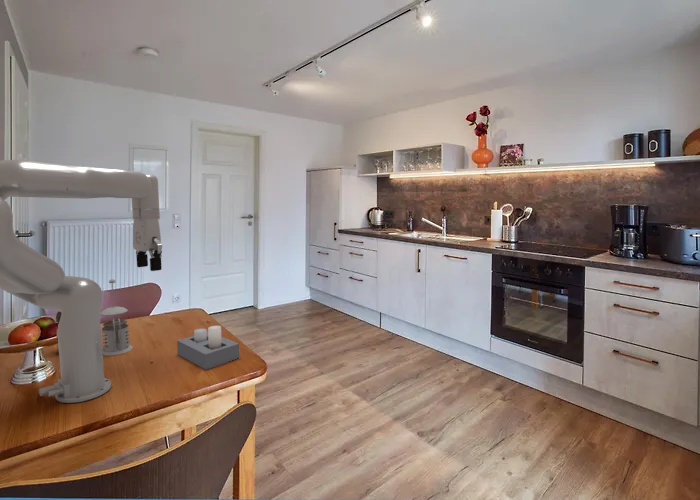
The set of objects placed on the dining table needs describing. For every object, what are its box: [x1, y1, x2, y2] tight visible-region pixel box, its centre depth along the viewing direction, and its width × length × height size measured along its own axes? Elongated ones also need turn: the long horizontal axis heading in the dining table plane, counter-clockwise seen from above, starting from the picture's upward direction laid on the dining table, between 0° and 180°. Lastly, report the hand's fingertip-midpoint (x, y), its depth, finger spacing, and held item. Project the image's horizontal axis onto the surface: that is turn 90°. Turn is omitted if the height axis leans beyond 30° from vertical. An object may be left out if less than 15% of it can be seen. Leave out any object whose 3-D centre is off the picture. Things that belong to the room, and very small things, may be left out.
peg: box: [207, 325, 222, 350], centre depth 128 cm, size 4×4×10 cm
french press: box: [100, 279, 134, 356], centre depth 134 cm, size 10×12×25 cm
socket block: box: [176, 328, 240, 371], centre depth 131 cm, size 12×18×8 cm, turn 50°
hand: (149, 268), depth 124 cm, fingers open, 9 cm apart
